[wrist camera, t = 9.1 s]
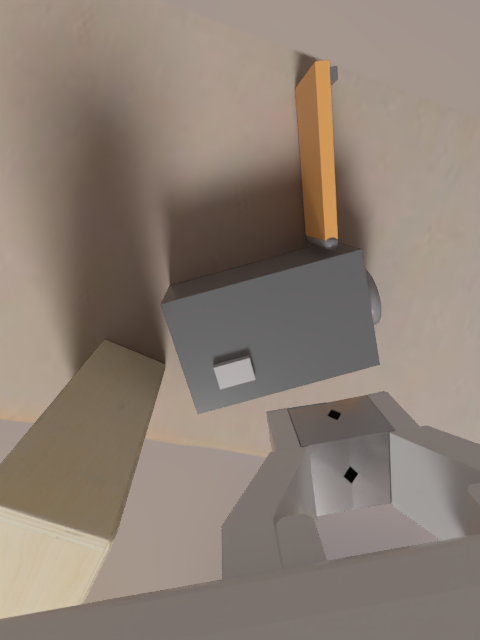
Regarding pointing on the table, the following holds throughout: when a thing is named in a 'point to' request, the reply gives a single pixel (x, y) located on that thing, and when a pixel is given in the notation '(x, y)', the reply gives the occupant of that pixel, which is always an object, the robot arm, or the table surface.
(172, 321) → the gray box
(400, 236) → the table surface
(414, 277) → the table surface
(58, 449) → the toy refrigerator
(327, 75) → the door
